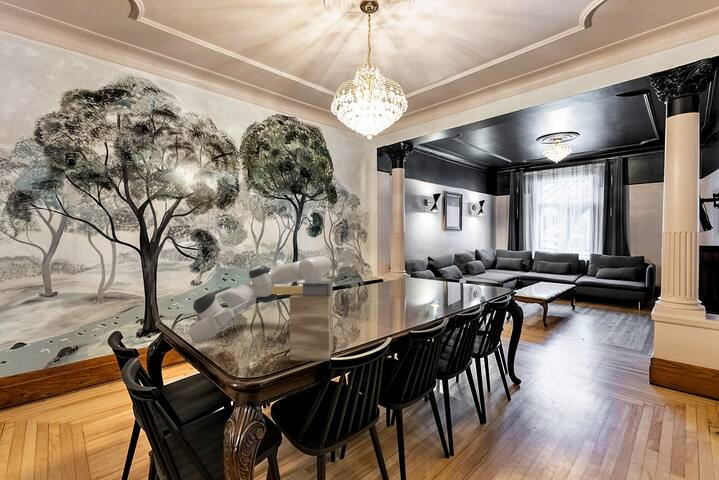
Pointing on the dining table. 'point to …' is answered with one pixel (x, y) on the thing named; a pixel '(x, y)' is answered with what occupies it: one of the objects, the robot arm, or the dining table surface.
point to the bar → (287, 290)
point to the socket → (317, 288)
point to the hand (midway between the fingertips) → (250, 302)
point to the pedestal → (311, 327)
